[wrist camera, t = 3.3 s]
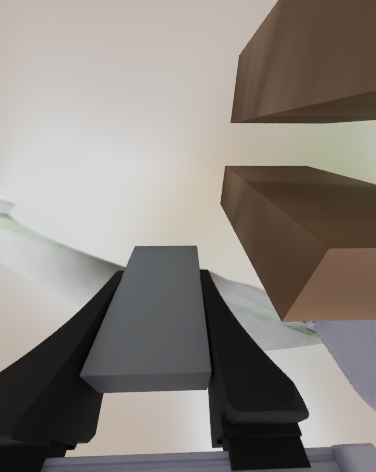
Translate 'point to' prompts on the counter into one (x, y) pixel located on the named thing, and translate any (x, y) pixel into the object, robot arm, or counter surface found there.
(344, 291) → the walnut domino
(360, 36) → the walnut domino
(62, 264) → the counter surface
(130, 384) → the slate domino
